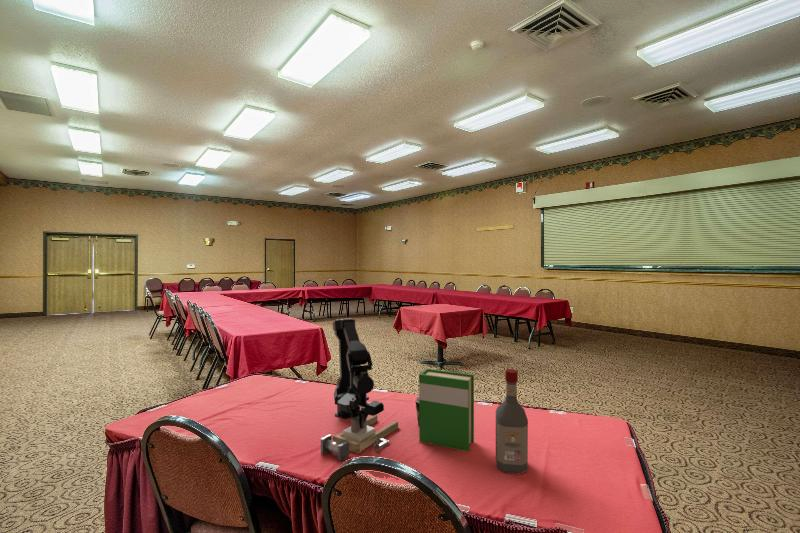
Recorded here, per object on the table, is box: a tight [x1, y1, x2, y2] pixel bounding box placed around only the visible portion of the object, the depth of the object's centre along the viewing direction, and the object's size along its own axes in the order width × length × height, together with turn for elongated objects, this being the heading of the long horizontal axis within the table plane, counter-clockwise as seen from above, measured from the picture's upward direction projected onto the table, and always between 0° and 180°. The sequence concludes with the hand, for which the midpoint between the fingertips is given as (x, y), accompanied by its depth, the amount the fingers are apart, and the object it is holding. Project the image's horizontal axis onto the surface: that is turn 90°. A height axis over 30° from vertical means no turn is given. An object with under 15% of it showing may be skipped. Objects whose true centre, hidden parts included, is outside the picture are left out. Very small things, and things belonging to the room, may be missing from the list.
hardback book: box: [418, 368, 475, 453], centre depth 137 cm, size 18×7×24 cm, turn 65°
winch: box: [320, 433, 350, 462], centre depth 129 cm, size 9×4×5 cm, turn 54°
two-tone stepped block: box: [342, 415, 376, 443], centre depth 139 cm, size 8×8×8 cm
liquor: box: [495, 368, 529, 474], centre depth 122 cm, size 9×9×30 cm
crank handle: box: [374, 437, 390, 452], centre depth 135 cm, size 6×4×3 cm
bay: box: [332, 414, 399, 454], centre depth 143 cm, size 11×23×3 cm, turn 144°
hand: (358, 427), depth 139 cm, fingers closed on two-tone stepped block, 2 cm apart
